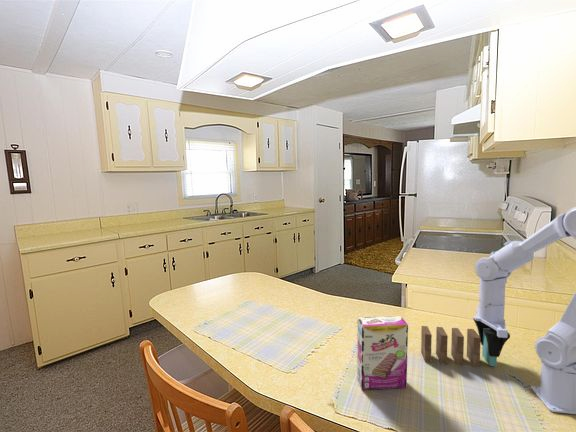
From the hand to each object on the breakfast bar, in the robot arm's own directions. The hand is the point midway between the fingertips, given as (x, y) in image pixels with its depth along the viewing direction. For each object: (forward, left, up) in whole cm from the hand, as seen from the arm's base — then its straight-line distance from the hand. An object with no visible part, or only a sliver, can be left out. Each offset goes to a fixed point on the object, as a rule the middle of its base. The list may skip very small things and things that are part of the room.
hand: (489, 350), depth 85 cm
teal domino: (0, 0, -3) cm, 3 cm away
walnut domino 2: (+12, 0, -3) cm, 12 cm away
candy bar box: (+29, +14, -4) cm, 32 cm away
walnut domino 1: (+16, 0, -3) cm, 16 cm away
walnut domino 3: (+8, 0, -3) cm, 9 cm away
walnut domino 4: (+4, 0, -3) cm, 5 cm away
